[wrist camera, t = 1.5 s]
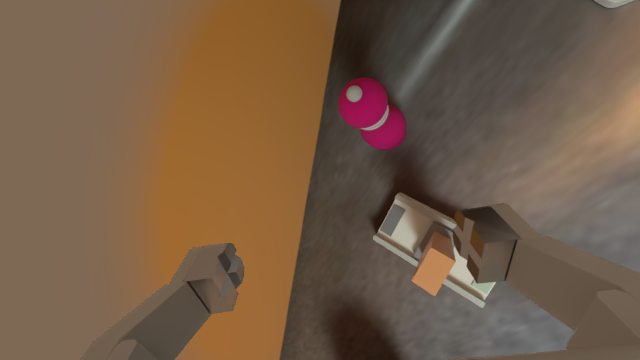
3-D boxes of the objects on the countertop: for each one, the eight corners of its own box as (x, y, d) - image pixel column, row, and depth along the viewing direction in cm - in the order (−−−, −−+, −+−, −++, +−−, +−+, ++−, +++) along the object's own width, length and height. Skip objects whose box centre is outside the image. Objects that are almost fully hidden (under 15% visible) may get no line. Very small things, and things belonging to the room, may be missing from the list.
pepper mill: (363, 147, 47) (314, 117, 29) (374, 110, 46) (331, 55, 29) (401, 156, 44) (373, 129, 26) (414, 116, 43) (394, 60, 25)
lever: (460, 235, 36) (470, 257, 23) (439, 270, 37) (437, 310, 24) (433, 221, 38) (428, 234, 25) (414, 254, 39) (399, 284, 26)
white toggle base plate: (509, 247, 36) (517, 253, 33) (477, 298, 38) (481, 309, 34) (401, 192, 43) (397, 192, 40) (377, 237, 45) (371, 240, 41)
